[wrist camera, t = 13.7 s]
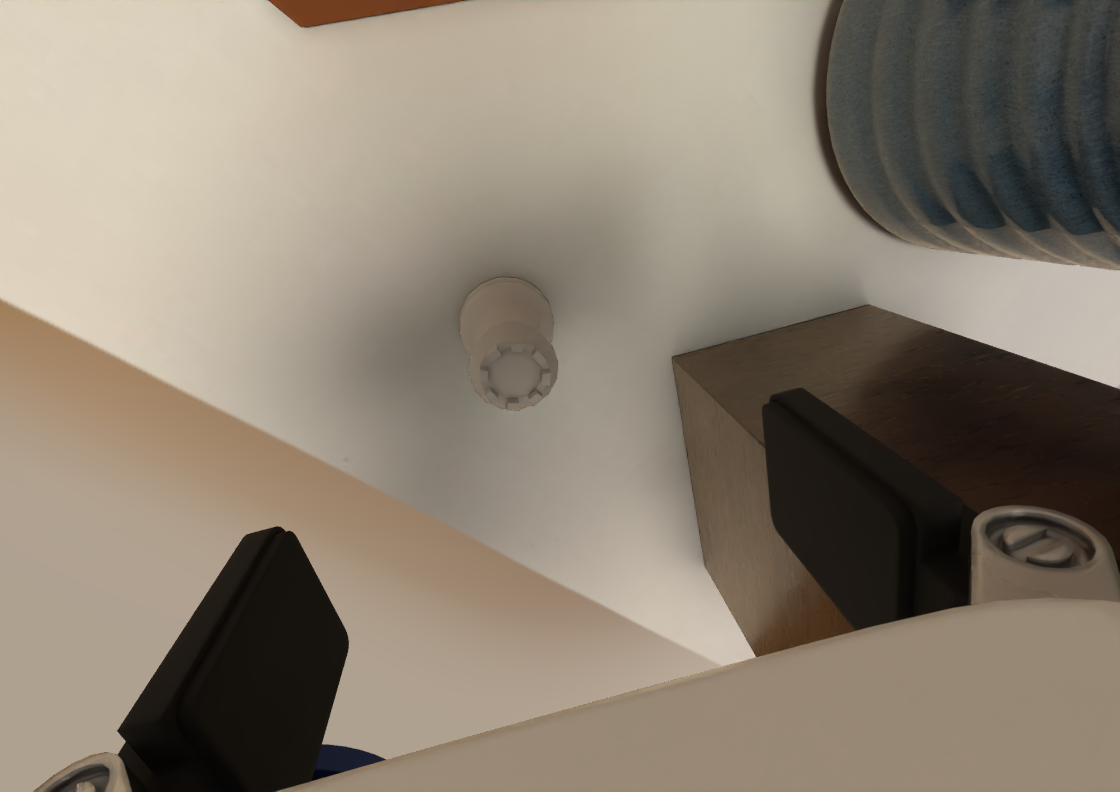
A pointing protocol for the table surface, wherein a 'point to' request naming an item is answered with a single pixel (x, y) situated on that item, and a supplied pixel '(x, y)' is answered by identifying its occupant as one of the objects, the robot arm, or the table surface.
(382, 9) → the alarm clock
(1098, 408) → the cabinet
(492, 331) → the rook chess piece
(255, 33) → the table surface
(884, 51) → the vase
